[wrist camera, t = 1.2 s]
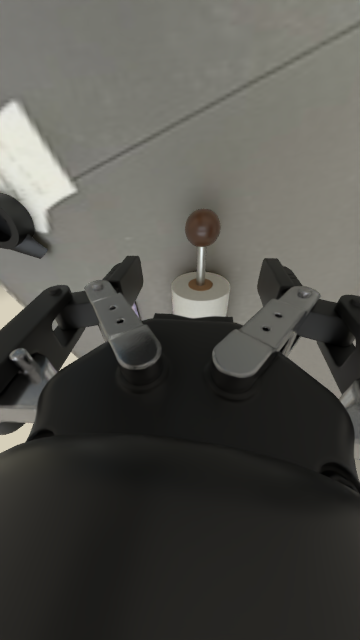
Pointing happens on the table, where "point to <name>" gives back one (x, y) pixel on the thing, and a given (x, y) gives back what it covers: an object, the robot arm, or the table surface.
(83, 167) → the table surface
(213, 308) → the towel stand
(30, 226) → the black winged disc
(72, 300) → the robot arm
